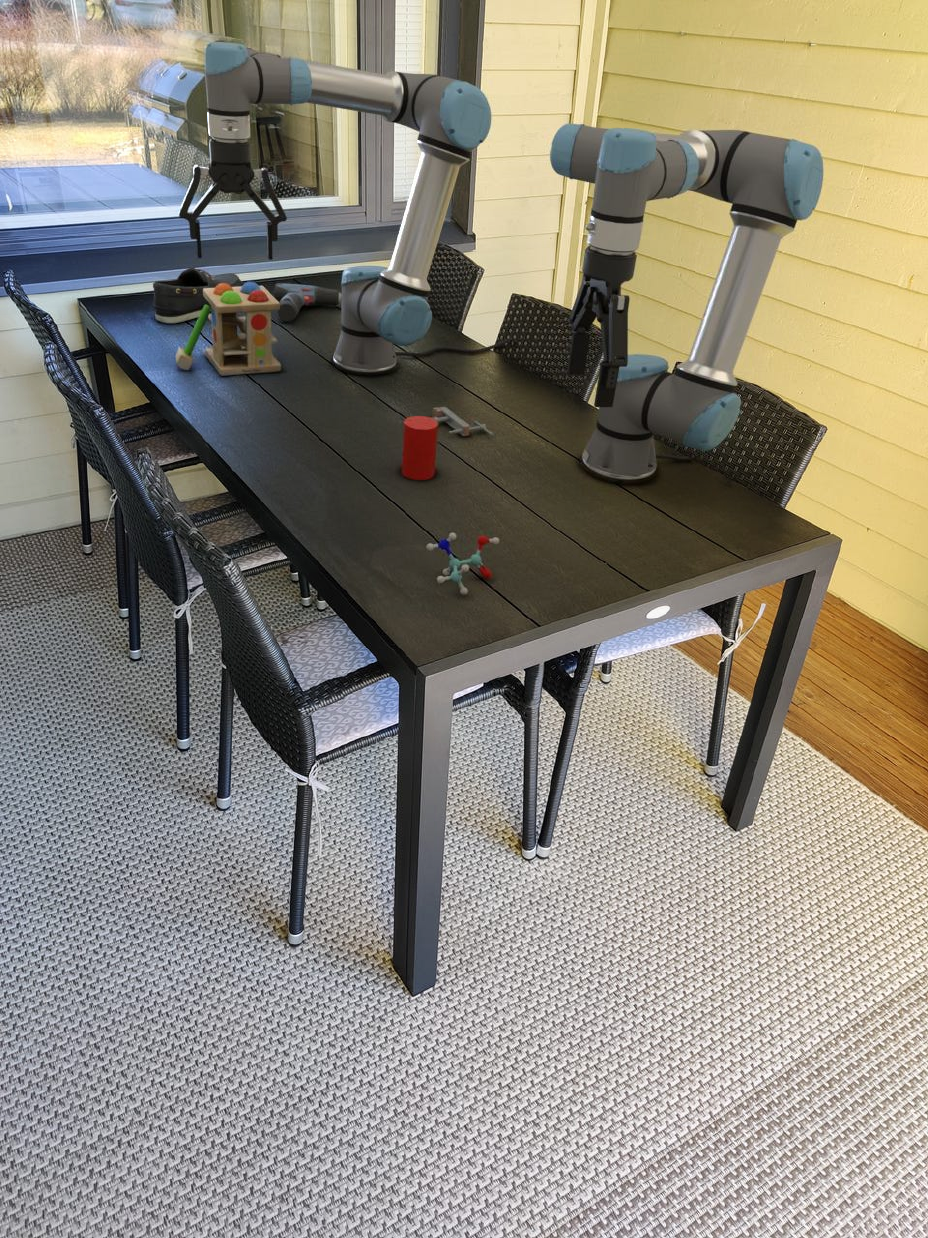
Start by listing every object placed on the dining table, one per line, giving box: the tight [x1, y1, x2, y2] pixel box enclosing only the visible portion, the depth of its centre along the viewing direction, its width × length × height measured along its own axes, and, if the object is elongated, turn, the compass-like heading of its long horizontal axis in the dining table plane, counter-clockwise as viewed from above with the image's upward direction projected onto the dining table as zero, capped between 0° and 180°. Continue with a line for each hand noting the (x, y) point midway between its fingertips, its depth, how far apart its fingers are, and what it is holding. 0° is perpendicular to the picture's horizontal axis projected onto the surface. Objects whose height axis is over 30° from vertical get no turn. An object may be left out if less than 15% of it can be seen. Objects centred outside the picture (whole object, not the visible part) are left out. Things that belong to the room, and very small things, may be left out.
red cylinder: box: [401, 415, 439, 481], centre depth 189 cm, size 6×6×10 cm
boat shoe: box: [152, 267, 243, 324], centre depth 261 cm, size 13×33×10 cm, turn 147°
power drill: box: [274, 282, 342, 322], centre depth 265 cm, size 5×19×20 cm
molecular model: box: [426, 532, 500, 596], centre depth 158 cm, size 12×10×10 cm
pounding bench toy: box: [174, 281, 282, 377], centre depth 225 cm, size 23×14×18 cm, turn 116°
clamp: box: [431, 406, 495, 438], centre depth 210 cm, size 15×2×10 cm
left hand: (235, 257), depth 194 cm, fingers open, 13 cm apart
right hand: (588, 389), depth 153 cm, fingers open, 13 cm apart
